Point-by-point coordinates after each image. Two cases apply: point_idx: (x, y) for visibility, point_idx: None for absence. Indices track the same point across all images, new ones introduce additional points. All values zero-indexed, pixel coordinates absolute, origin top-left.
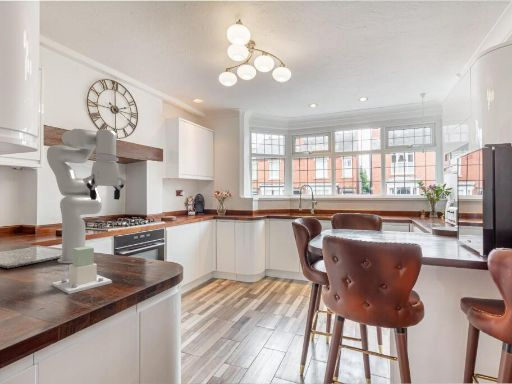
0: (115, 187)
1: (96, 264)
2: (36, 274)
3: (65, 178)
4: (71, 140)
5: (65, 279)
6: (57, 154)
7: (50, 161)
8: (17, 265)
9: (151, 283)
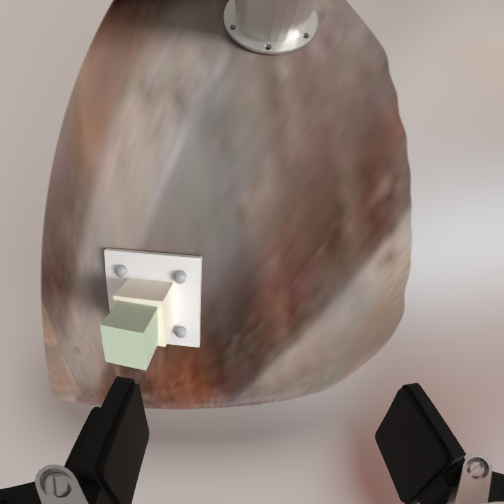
0: (458, 500)
1: (164, 346)
2: (123, 99)
3: None
4: None
5: (122, 271)
6: None
7: None
8: None
9: (250, 397)
